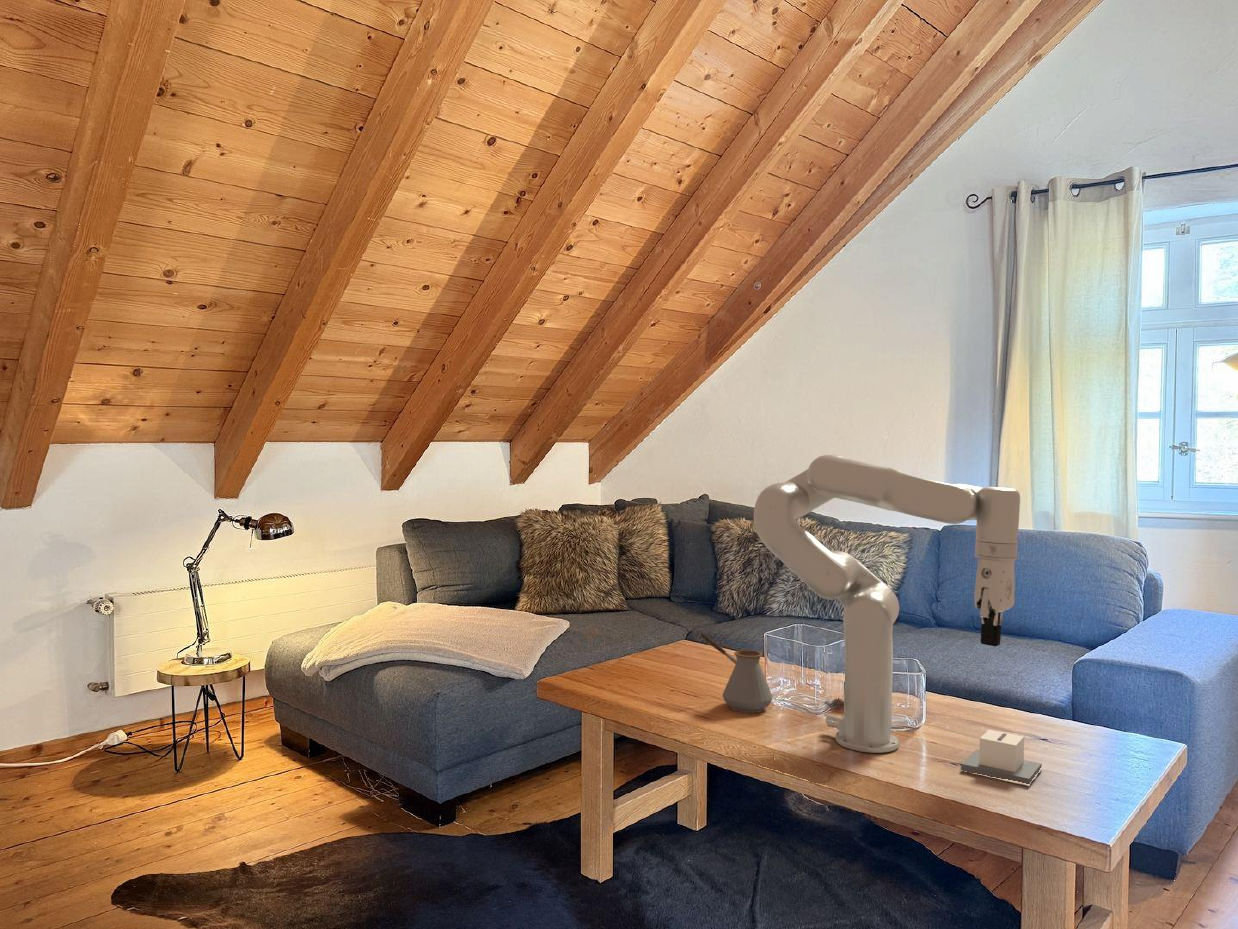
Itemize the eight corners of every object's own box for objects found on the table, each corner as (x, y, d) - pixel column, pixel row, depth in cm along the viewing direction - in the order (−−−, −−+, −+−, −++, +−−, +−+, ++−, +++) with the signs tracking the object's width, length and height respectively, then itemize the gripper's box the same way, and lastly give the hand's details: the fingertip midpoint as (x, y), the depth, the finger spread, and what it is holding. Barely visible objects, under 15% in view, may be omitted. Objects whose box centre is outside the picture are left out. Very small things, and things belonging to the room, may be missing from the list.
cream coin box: (1015, 772, 166) (1015, 744, 166) (979, 764, 170) (979, 737, 169) (1023, 762, 171) (1024, 735, 171) (988, 755, 175) (989, 728, 174)
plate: (960, 771, 170) (961, 763, 170) (975, 757, 178) (976, 749, 178) (1028, 787, 163) (1029, 778, 163) (1041, 771, 171) (1041, 763, 171)
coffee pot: (782, 709, 208) (783, 645, 208) (749, 719, 200) (750, 652, 200) (714, 689, 224) (715, 629, 224) (682, 697, 217) (683, 635, 216)
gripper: (1003, 556, 166) (997, 654, 167) (1027, 550, 177) (1022, 642, 178) (962, 551, 171) (957, 647, 172) (988, 545, 182) (983, 635, 183)
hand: (990, 644), depth 175 cm, fingers closed
